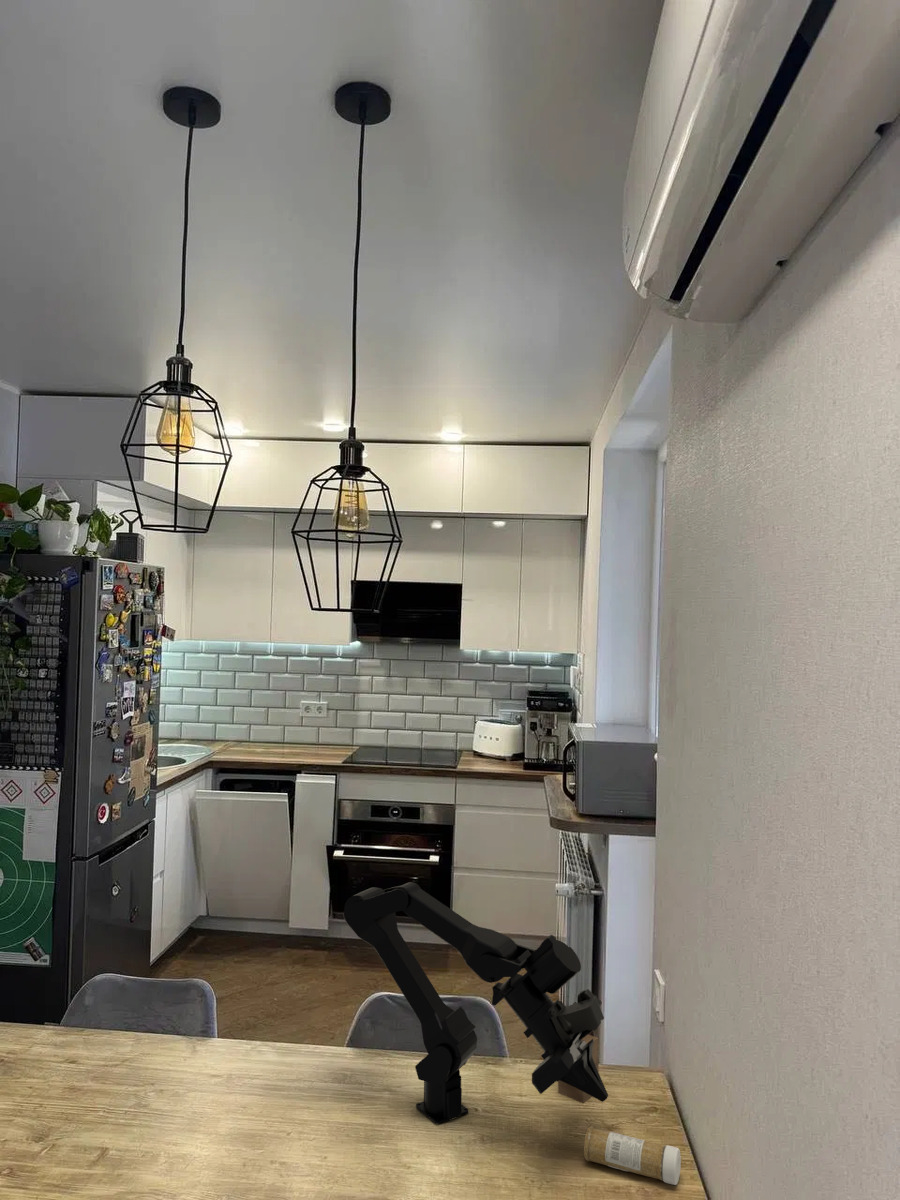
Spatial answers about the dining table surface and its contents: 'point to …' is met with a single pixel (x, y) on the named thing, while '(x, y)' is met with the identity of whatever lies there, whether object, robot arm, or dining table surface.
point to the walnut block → (572, 1091)
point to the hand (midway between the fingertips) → (605, 1099)
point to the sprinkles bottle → (633, 1155)
